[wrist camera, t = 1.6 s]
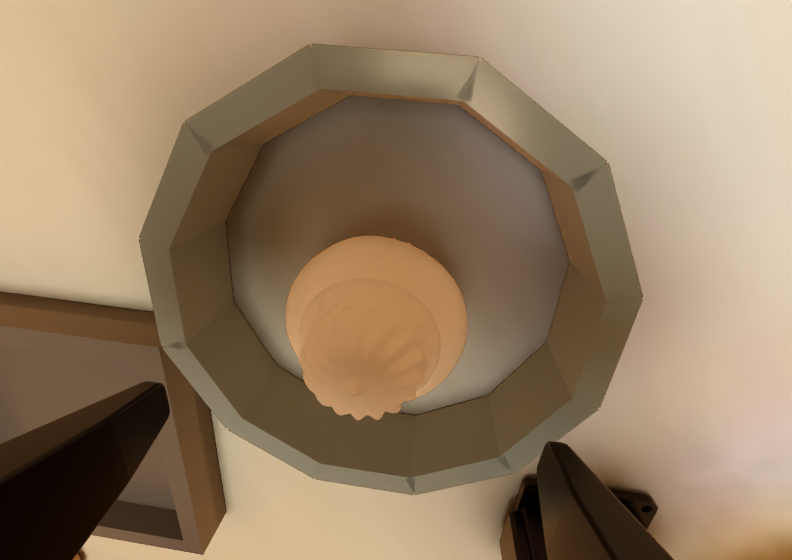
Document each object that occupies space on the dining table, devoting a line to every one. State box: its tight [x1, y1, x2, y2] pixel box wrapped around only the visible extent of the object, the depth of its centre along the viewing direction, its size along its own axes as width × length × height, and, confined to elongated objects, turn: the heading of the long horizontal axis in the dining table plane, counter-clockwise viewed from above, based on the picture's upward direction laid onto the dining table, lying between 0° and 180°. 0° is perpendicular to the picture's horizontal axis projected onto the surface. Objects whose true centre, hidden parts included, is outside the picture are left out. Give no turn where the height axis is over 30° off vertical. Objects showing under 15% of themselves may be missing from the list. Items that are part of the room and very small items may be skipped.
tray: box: [0, 292, 226, 555], centre depth 20 cm, size 14×14×2 cm
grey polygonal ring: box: [139, 44, 643, 495], centre depth 14 cm, size 16×16×4 cm
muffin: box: [285, 236, 468, 420], centre depth 13 cm, size 6×6×7 cm
